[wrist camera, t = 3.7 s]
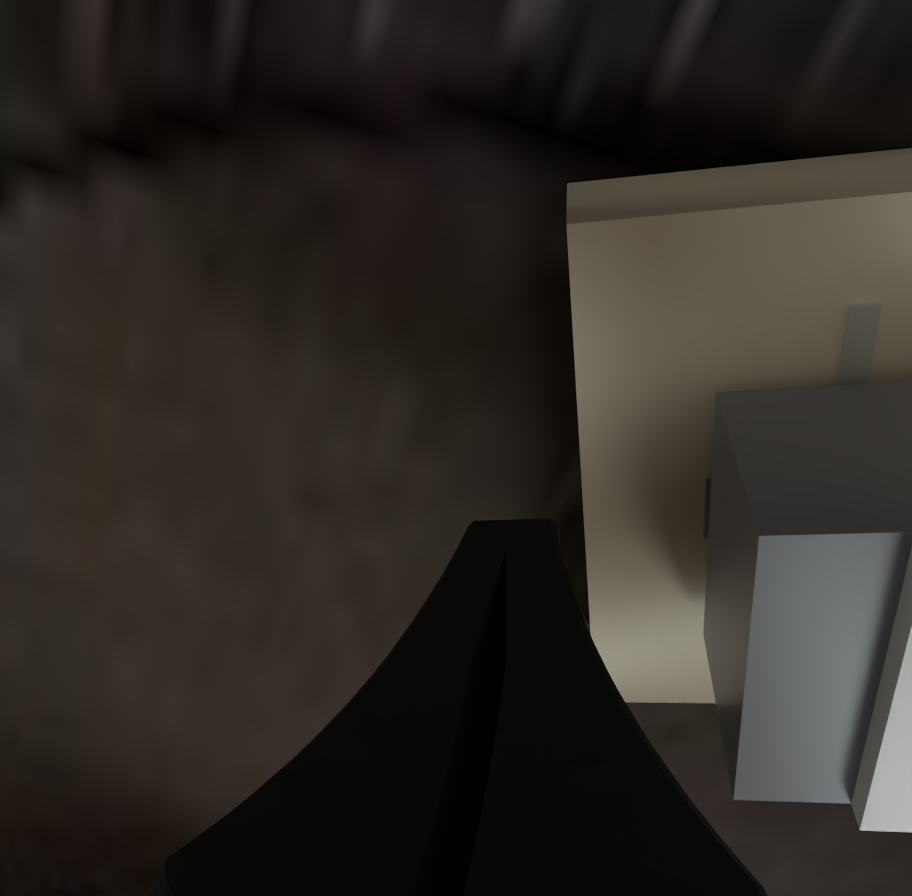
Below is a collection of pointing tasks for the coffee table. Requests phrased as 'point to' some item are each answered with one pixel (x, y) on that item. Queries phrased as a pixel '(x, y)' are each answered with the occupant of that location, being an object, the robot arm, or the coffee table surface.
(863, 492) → the fader tab
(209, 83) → the coffee table surface
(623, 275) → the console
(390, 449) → the coffee table surface
